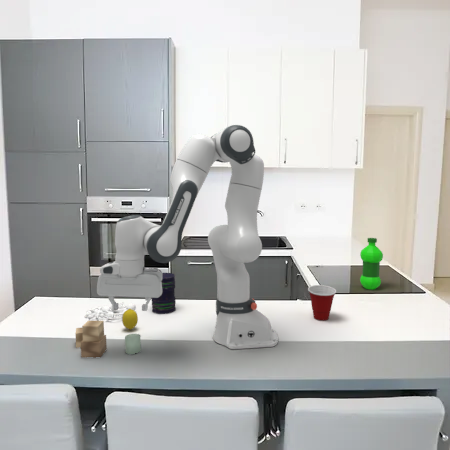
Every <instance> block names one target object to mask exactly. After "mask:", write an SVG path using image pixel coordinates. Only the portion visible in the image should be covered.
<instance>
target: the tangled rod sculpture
mask: <svg viewBox="0 0 450 450" xmlns="http://www.w3.org/2000/svg"><path fill="white" fill-rule="evenodd" d="M118 306H119V308H118V310H121V309H123V310H122V311H121V312H117V311H118V310H113V309H112V305H111V306H108V305H106V306H105V305H104V306H98V307H95V308H94V307H92V308H90V309H88V310H86V313H85V315H84V318H88V320H89V319H90V320H91V319H93V318H96V319H97V320H98V321H104V320H117V319H119V318H121V317H123V314H124V312H125V311H126V310H128V309H132V310H134V311H135V312H136V309H137V307H136V305H135V304H134V303H133V302H130V303H128V304H126V305H124V302H121V303H119V305H118ZM115 312H117V313H115Z"/></svg>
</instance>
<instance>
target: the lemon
mask: <svg viewBox="0 0 450 450" xmlns="http://www.w3.org/2000/svg"><path fill="white" fill-rule="evenodd" d="M121 317H122V320H121V321H122V325H123V327H124V328H126V329H128V330H129V331H132V329H133V328H135V327H136V326H137V324H138V323H139V321H138V320H139V317H138V313H137V312H136V310H135V311H134V310H132V309H128V310H126V311H125V312H124V314H123V316H121Z"/></svg>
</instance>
